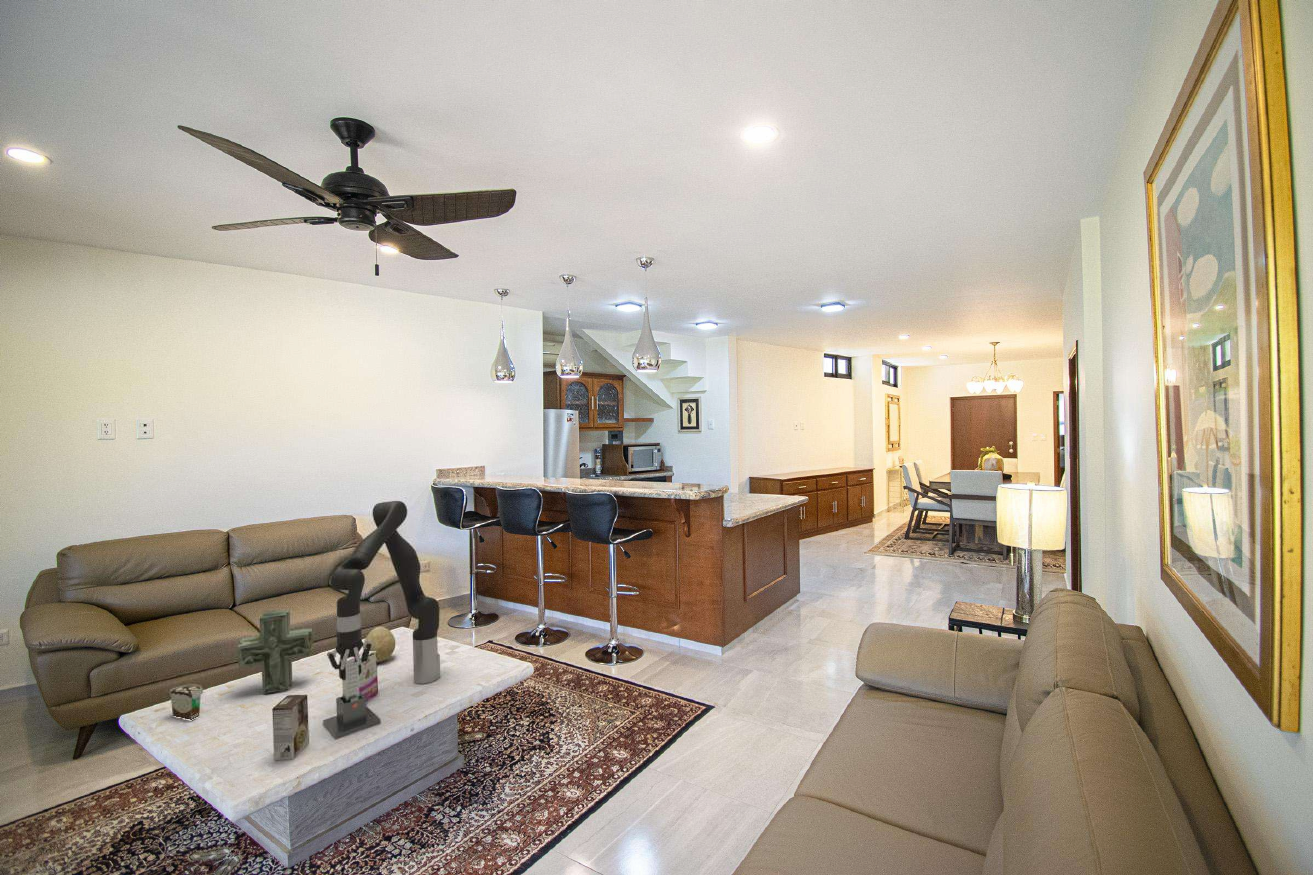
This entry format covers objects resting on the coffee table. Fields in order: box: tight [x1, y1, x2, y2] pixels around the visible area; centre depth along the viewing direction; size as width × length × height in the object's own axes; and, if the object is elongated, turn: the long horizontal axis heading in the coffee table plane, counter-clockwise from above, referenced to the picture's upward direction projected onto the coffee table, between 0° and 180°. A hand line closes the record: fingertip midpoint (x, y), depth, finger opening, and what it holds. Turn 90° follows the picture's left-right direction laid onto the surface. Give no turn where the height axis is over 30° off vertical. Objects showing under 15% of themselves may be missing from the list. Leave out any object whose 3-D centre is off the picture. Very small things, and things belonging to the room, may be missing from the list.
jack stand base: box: [322, 692, 382, 740], centre depth 200 cm, size 14×14×10 cm
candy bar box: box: [349, 651, 379, 702], centre depth 218 cm, size 11×5×16 cm, turn 168°
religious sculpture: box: [237, 608, 314, 695], centre depth 229 cm, size 24×12×30 cm, turn 114°
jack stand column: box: [341, 658, 360, 703], centre depth 200 cm, size 4×4×16 cm
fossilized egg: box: [362, 626, 396, 663], centre depth 255 cm, size 13×13×15 cm
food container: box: [168, 683, 204, 721], centre depth 209 cm, size 12×6×10 cm, turn 71°
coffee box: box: [271, 694, 310, 761], centre depth 183 cm, size 9×6×16 cm
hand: (350, 676), depth 200 cm, fingers closed on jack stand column, 4 cm apart
